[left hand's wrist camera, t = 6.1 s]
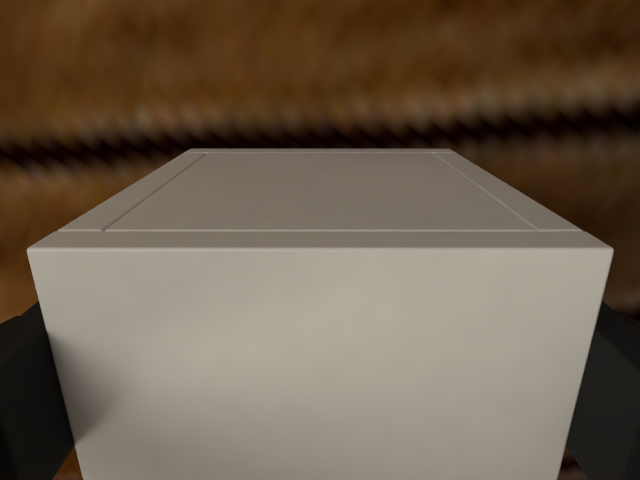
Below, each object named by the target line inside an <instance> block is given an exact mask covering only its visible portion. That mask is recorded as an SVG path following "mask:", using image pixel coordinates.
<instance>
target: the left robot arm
mask: <svg viewBox="0 0 640 480" xmlns="http://www.w3.org/2000/svg"><path fill="white" fill-rule="evenodd" d="M74 445H75V444H74V440H73V436H72V432H71V428H70V424H69V420H68V416H67V412H66V407H65V403H64V399H63V395H62V391H61V387H60V383H59V379H58V375H57V371H56V367H55V363H54V359H53V355H52V351H51V347H50V343H49V339H48V335H47V331H46V327H45V323H44V319H43V315H42V311H41V307H40V302H39V301H38V302H37V303H35V304H34V305H33V306H32V307H31V308H29V309H28V310H27V311H26V312H25V313H23V314H22V315H21V316H15V317H13V318H11V319H9V320H7V321H5V322H3V323H1V324H0V480H52V479H53V478H54V476H55V475H56V473H57V471H58V470H59V468H60V467H61V465H62V464H63V462H64V461H65V459H66V458H67V456H68V455H69V453H70V452H71V450H72V448H73V447H74ZM566 446H567V448H568V449H569V451H570V452H571V454H572V455H573V457H574V458H575V460H576V461H577V463H578V465H579V466H580V468H581V469H582V471H583V472H584V474H585V475H586V477H587V478H588V480H640V322H639V321H637V320H635V319H633V318H631V317H629V316H627V315H625V314H617V313H616V312H615V311H614V310H612V309H611V308H610V307H609V306H607V305H606V304H605V303H604V302H603V301H601V305H600V309H599V313H598V318H597V322H596V326H595V330H594V334H593V338H592V342H591V346H590V350H589V354H588V358H587V362H586V366H585V370H584V374H583V378H582V382H581V386H580V390H579V394H578V398H577V402H576V406H575V410H574V414H573V418H572V422H571V426H570V430H569V434H568V438H567V442H566Z"/></svg>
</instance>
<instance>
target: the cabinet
mask: <svg viewBox="0 0 640 480" xmlns="http://www.w3.org/2000/svg"><path fill="white" fill-rule="evenodd" d="M613 253H614V249H613V248H612V247H610V246H609V245H607V244H605V243H604V242H602V241H600V240H599V239H597V238H596V237H594V236H592V235H591V234H589V233H587V232H583V230H582V229H580V228H578V227H577V226H575V225H573V224H572V223H570V222H568V221H567V220H565V219H564V218H562V217H560V216H559V215H557V214H555V213H554V212H552V211H550V210H549V209H547V208H546V207H544V206H542V205H541V204H539V203H537V202H536V201H534V200H532V199H531V198H529V197H528V196H526V195H524V194H523V193H521V192H519V191H518V190H516V189H515V188H513V187H511V186H510V185H508V184H506V183H505V182H503V181H501V180H500V179H498V178H497V177H495V176H493V175H492V174H490V173H488V172H487V171H485V170H483V169H482V168H480V167H479V166H477V165H475V164H474V163H472V162H470V161H469V160H467V159H465V158H464V157H462V156H461V155H459V154H457V153H456V152H454V151H452V150H451V149H190V150H188V151H186V152H185V153H183V154H181V155H180V156H178V157H176V158H175V159H173V160H172V161H170V162H168V163H167V164H165V165H163V166H162V167H160V168H159V169H157V170H155V171H154V172H152V173H150V174H149V175H147V176H145V177H144V178H142V179H141V180H139V181H137V182H136V183H134V184H132V185H131V186H129V187H128V188H126V189H124V190H123V191H121V192H119V193H118V194H116V195H115V196H113V197H111V198H110V199H108V200H106V201H105V202H103V203H102V204H100V205H98V206H97V207H95V208H93V209H92V210H90V211H88V212H87V213H85V214H84V215H82V216H80V217H79V218H77V219H75V220H74V221H72V222H71V223H69V224H67V225H66V226H64V227H62V228H61V229H59V230H58V231H56V232H53V233H52V234H50V235H48V236H47V237H45V238H43V239H42V240H40V241H38V242H37V243H35V244H34V245H32V246H30V247H29V248H28V249H27V254H28V258H29V262H30V266H31V270H32V274H33V278H34V282H35V286H36V290H37V294H38V298H39V302H40V307H41V311H42V315H43V319H44V323H45V327H46V331H47V335H48V339H49V343H50V347H51V351H52V355H53V359H54V363H55V367H56V371H57V375H58V379H59V383H60V387H61V391H62V395H63V399H64V403H65V407H66V412H67V416H68V420H69V424H70V428H71V432H72V436H73V440H74V444H75V448H76V452H77V456H78V460H79V464H80V468H81V472H82V476H83V480H557V478H558V474H559V470H560V466H561V462H562V458H563V454H564V450H565V446H566V442H567V438H568V434H569V430H570V426H571V422H572V418H573V414H574V410H575V406H576V402H577V398H578V394H579V390H580V386H581V382H582V378H583V374H584V370H585V366H586V362H587V358H588V354H589V350H590V346H591V342H592V338H593V334H594V330H595V326H596V322H597V318H598V313H599V309H600V305H601V301H602V297H603V293H604V289H605V285H606V281H607V277H608V273H609V269H610V265H611V261H612V257H613Z"/></svg>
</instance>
